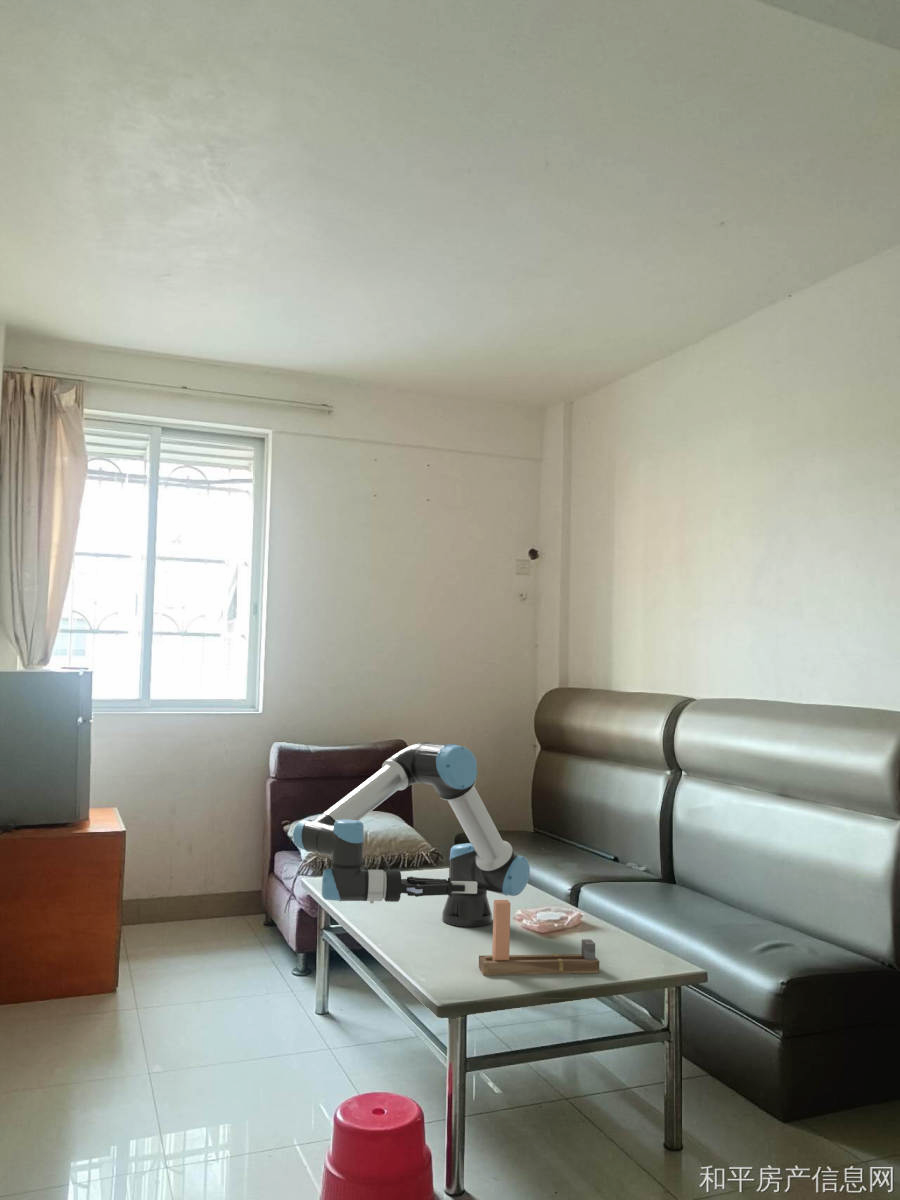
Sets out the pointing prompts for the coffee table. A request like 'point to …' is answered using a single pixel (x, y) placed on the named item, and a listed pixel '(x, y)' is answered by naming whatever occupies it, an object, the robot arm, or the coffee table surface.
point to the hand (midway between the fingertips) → (476, 887)
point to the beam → (543, 963)
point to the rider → (501, 930)
